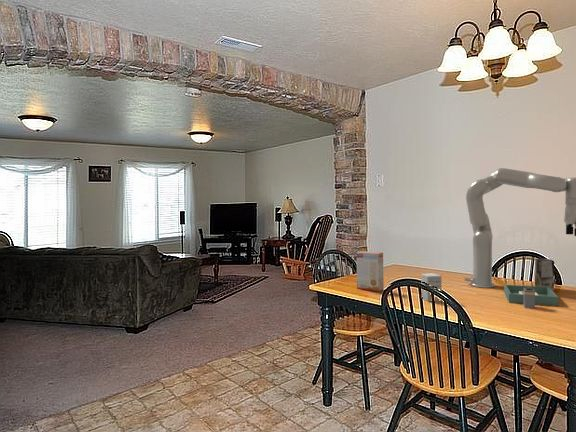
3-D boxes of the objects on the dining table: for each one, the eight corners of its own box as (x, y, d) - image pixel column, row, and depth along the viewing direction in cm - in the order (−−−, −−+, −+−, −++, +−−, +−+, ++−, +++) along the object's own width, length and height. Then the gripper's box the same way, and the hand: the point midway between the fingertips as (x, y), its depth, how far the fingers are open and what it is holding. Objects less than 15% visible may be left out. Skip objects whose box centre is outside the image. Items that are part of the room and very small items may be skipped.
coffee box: (554, 291, 215) (554, 260, 214) (541, 291, 216) (541, 260, 215) (547, 287, 224) (547, 258, 223) (534, 287, 225) (534, 258, 224)
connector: (524, 307, 185) (524, 288, 185) (523, 305, 189) (523, 286, 188) (534, 308, 184) (535, 289, 183) (533, 306, 187) (533, 287, 187)
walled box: (508, 302, 195) (508, 293, 194) (503, 292, 215) (504, 284, 215) (558, 305, 187) (558, 297, 187) (548, 295, 207) (548, 287, 207)
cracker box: (384, 290, 225) (383, 252, 224) (378, 292, 221) (378, 253, 220) (362, 286, 235) (361, 250, 234) (356, 288, 230) (356, 251, 229)
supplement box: (421, 298, 206) (420, 273, 205) (435, 297, 206) (435, 272, 206) (427, 302, 198) (427, 276, 198) (442, 301, 199) (441, 275, 198)
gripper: (558, 201, 218) (558, 233, 219) (573, 202, 202) (573, 236, 202) (574, 201, 217) (574, 233, 218) (591, 201, 200) (590, 236, 201)
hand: (573, 235), depth 210 cm, fingers open, 9 cm apart
